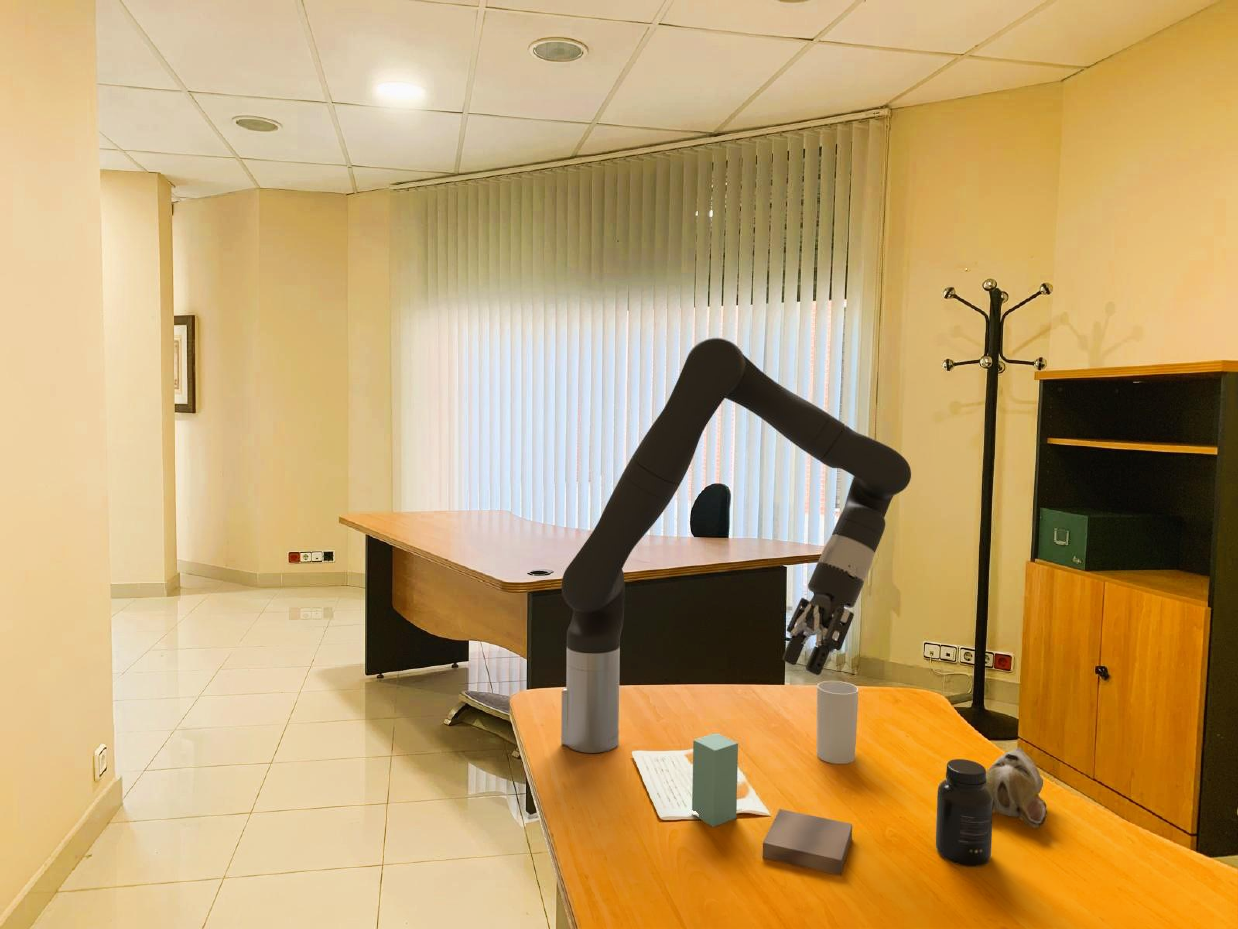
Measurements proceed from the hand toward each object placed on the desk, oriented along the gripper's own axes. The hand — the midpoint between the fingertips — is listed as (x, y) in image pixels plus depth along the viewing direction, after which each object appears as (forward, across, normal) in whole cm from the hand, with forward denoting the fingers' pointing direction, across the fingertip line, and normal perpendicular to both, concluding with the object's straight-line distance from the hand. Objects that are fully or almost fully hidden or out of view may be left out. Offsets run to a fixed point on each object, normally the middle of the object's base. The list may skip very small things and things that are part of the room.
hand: (799, 667), depth 125 cm
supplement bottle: (+13, +18, +23) cm, 32 cm away
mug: (+10, -15, +20) cm, 27 cm away
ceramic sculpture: (+6, +8, +35) cm, 37 cm away
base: (+21, +12, +5) cm, 25 cm away
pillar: (+24, +2, -4) cm, 25 cm away
